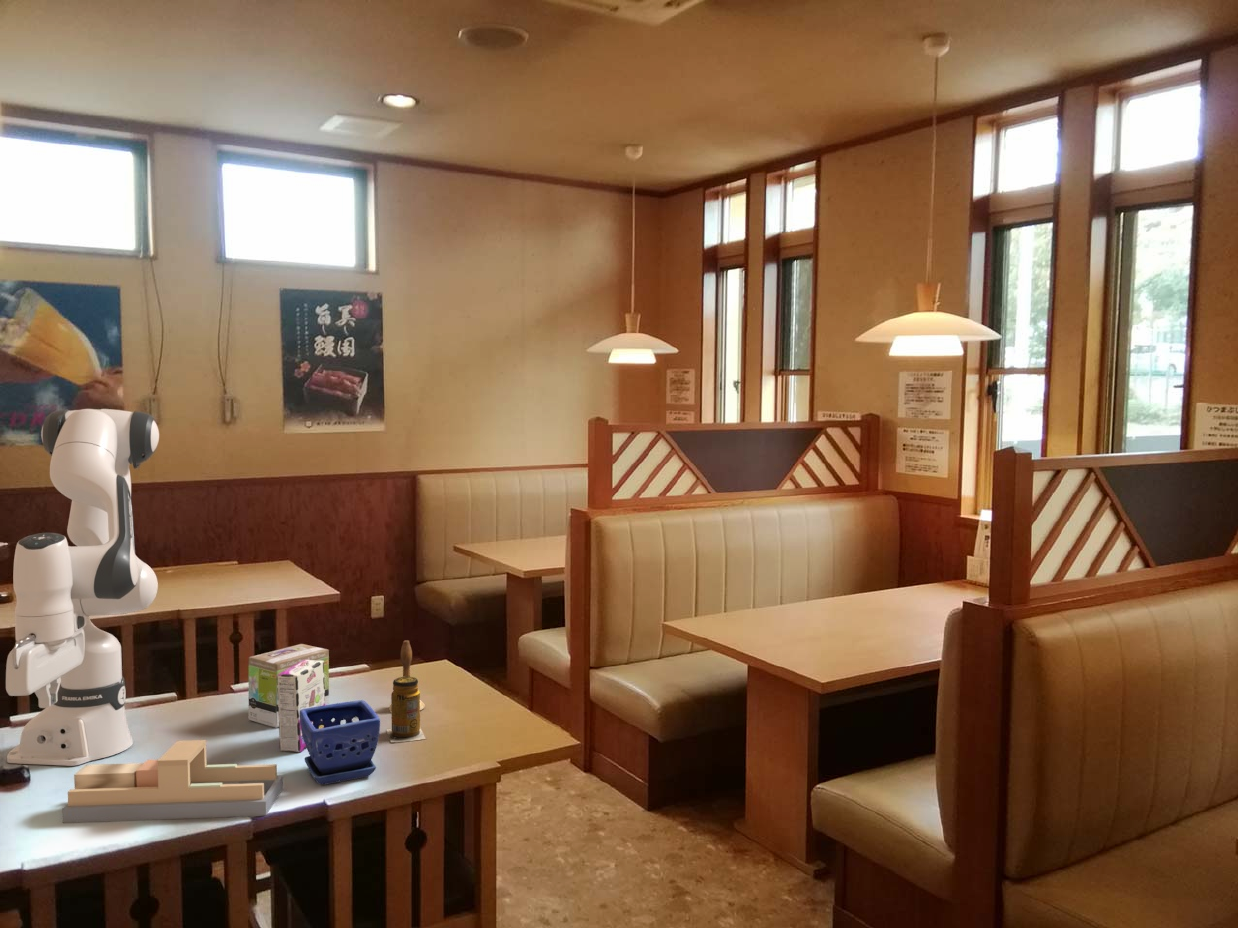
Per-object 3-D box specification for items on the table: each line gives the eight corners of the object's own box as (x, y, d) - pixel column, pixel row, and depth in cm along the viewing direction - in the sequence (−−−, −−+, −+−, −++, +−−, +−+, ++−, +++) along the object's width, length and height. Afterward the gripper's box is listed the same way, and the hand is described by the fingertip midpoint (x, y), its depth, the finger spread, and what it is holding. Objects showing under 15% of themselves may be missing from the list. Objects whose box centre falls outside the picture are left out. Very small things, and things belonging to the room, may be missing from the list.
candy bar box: (305, 732, 207) (304, 658, 206) (327, 734, 206) (325, 659, 205) (277, 751, 196) (275, 673, 195) (299, 753, 195) (297, 674, 194)
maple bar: (75, 799, 166) (74, 774, 166) (86, 789, 171) (86, 764, 171) (134, 797, 167) (133, 772, 167) (144, 787, 172) (144, 762, 172)
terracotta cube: (137, 798, 167) (136, 770, 167) (148, 786, 172) (147, 759, 172) (166, 797, 168) (165, 769, 167) (177, 785, 173) (176, 758, 172)
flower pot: (383, 778, 183) (382, 717, 182) (312, 792, 176) (311, 729, 175) (365, 755, 194) (364, 698, 193) (298, 767, 188) (296, 708, 187)
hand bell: (385, 705, 226) (384, 638, 224) (420, 700, 229) (419, 635, 228) (392, 715, 218) (391, 647, 217) (428, 710, 222) (427, 643, 220)
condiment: (419, 726, 211) (419, 673, 210) (425, 739, 203) (425, 684, 202) (386, 730, 209) (385, 676, 208) (390, 743, 201) (390, 687, 200)
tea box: (277, 729, 209) (275, 663, 208) (247, 720, 214) (246, 656, 213) (330, 710, 222) (329, 647, 221) (301, 702, 227) (300, 641, 226)
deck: (62, 822, 163) (60, 765, 162) (93, 794, 175) (91, 741, 174) (266, 815, 166) (264, 759, 166) (283, 787, 178) (281, 735, 177)
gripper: (33, 642, 156) (36, 724, 157) (90, 614, 176) (93, 687, 177) (-8, 643, 155) (-4, 726, 156) (54, 614, 176) (57, 688, 177)
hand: (48, 705), depth 167 cm, fingers closed
